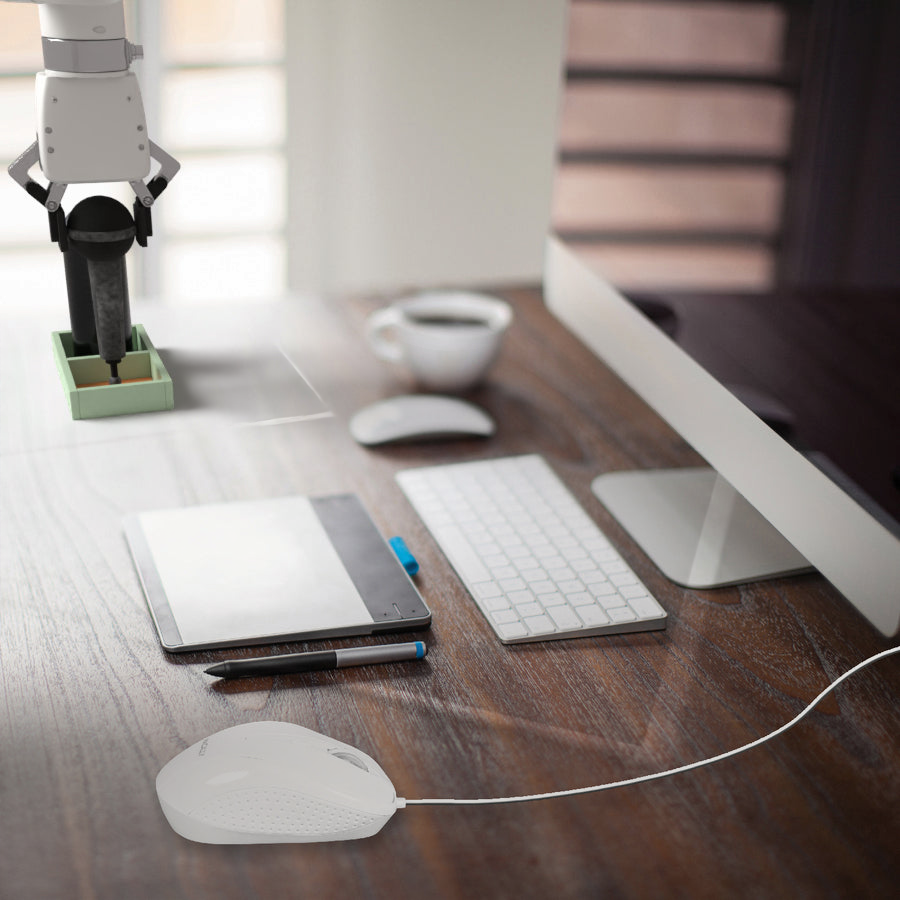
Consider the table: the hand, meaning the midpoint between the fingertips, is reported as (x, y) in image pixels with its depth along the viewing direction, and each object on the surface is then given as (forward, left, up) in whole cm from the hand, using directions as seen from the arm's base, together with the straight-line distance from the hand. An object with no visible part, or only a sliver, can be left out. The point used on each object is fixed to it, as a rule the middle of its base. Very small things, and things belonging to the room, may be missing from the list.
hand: (102, 245), depth 113 cm
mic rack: (0, +5, -17) cm, 17 cm away
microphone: (0, 0, -15) cm, 15 cm away
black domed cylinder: (0, +9, -16) cm, 19 cm away
